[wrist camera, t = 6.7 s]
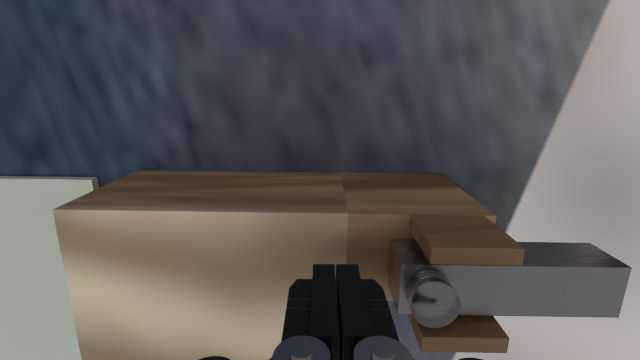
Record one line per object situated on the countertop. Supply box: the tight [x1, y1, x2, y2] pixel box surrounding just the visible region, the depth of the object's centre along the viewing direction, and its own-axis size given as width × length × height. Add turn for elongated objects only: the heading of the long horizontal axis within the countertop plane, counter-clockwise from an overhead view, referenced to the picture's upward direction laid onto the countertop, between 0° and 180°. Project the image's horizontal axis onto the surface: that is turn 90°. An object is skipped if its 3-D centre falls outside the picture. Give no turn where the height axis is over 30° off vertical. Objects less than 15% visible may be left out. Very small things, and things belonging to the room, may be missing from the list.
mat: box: [0, 176, 100, 360], centre depth 24 cm, size 19×15×1 cm
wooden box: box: [70, 170, 525, 353], centre depth 18 cm, size 16×18×10 cm
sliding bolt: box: [388, 240, 631, 328], centre depth 13 cm, size 2×8×3 cm, turn 89°
